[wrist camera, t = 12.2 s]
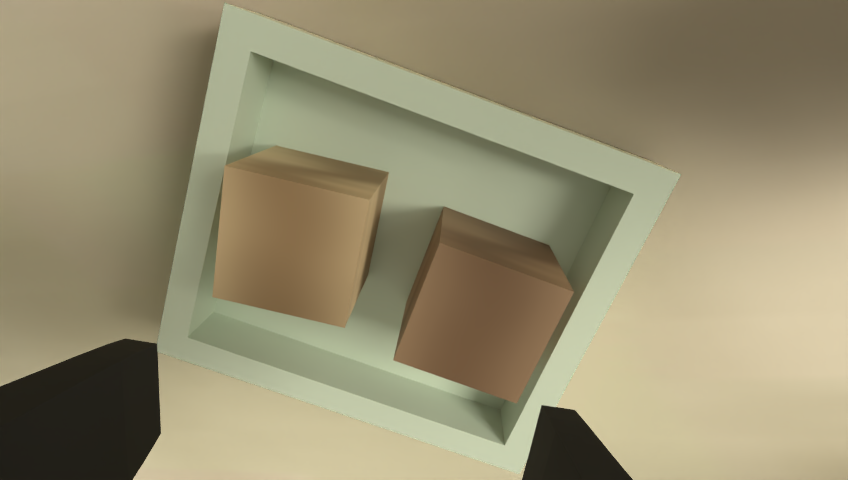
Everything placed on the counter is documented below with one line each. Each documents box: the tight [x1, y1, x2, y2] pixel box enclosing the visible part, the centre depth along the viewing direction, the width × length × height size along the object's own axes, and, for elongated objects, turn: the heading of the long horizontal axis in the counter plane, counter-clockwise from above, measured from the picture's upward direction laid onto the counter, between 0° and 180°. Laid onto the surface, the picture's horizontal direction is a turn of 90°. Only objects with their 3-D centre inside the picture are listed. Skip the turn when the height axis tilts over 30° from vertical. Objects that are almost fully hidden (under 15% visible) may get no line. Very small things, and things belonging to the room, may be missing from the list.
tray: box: [157, 3, 681, 474], centre depth 17 cm, size 14×12×3 cm
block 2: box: [393, 206, 574, 404], centre depth 16 cm, size 4×4×4 cm
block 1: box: [212, 145, 389, 328], centre depth 16 cm, size 4×4×4 cm
